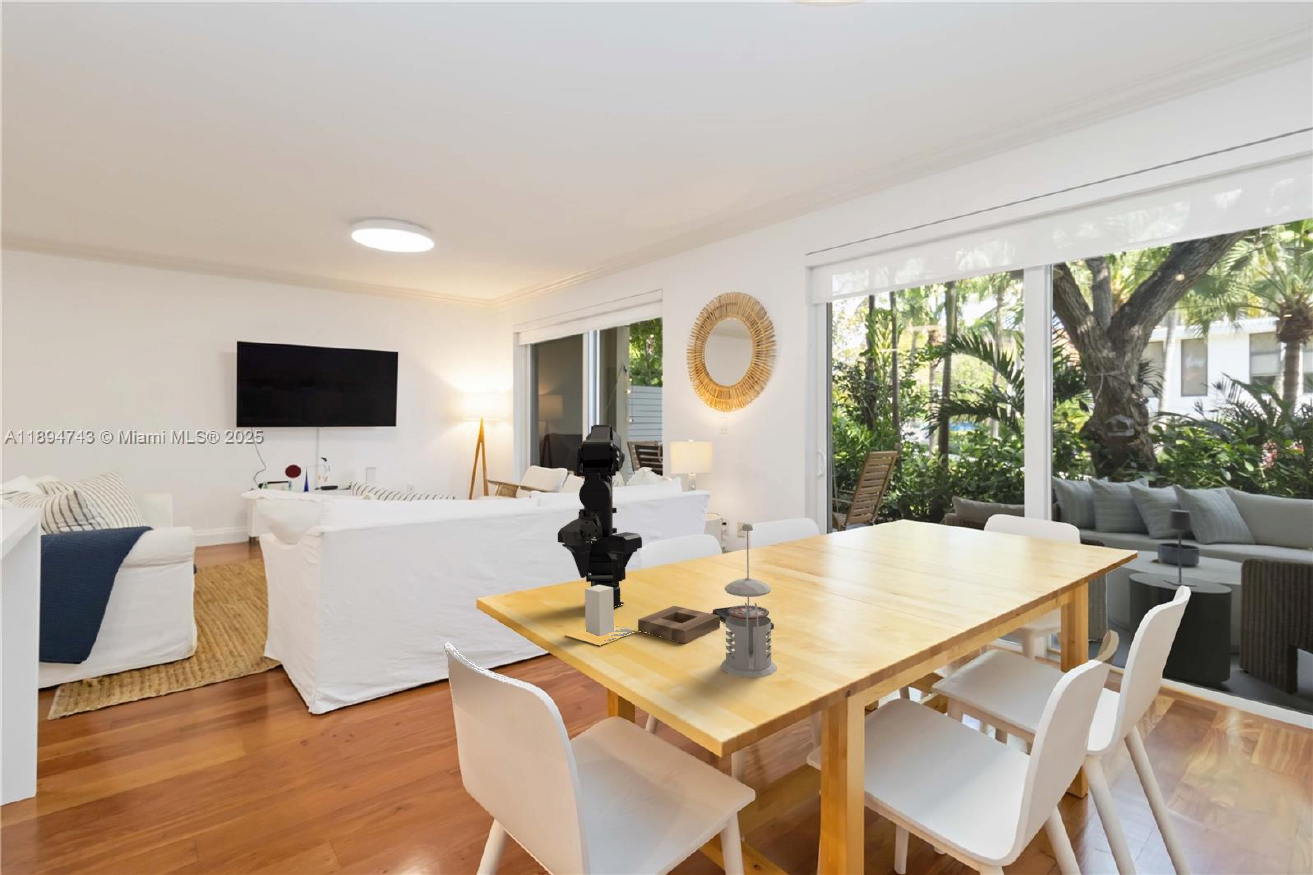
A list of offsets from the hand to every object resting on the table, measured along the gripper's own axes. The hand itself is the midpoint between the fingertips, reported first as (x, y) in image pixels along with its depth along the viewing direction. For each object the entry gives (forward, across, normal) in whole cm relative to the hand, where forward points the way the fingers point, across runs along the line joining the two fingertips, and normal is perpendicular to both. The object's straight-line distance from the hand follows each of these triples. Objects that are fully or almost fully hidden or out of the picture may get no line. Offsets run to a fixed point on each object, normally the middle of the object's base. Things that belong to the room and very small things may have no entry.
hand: (599, 580), depth 127 cm
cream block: (+10, 0, 0) cm, 11 cm away
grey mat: (+11, 0, 0) cm, 11 cm away
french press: (+11, +33, +3) cm, 35 cm away
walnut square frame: (+11, +11, +12) cm, 20 cm away
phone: (+12, +18, +25) cm, 33 cm away
